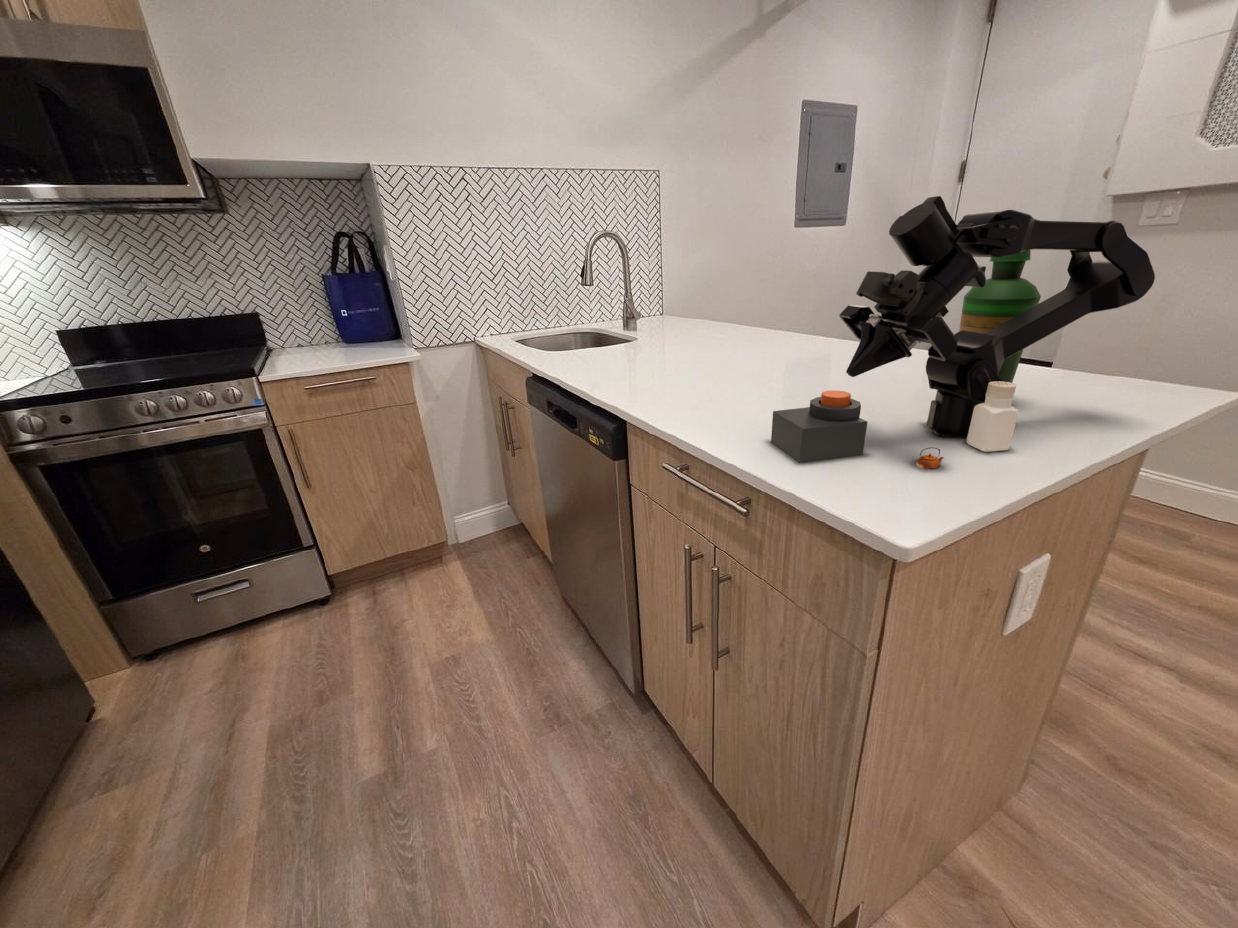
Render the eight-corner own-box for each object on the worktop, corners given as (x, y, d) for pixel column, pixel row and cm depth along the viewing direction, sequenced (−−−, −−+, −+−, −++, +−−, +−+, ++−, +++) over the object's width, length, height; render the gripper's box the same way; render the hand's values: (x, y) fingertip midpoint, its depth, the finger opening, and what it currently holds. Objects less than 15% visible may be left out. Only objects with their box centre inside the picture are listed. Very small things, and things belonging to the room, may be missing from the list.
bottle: (932, 395, 99) (963, 239, 88) (992, 394, 97) (1031, 236, 86) (958, 411, 89) (996, 238, 78) (1025, 410, 88) (1073, 234, 77)
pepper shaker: (1010, 451, 72) (1028, 386, 68) (983, 453, 72) (999, 388, 68) (989, 441, 76) (1004, 379, 72) (963, 443, 75) (978, 381, 72)
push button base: (833, 434, 82) (838, 392, 79) (868, 454, 73) (875, 408, 71) (770, 442, 80) (773, 399, 77) (799, 463, 72) (803, 416, 69)
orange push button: (839, 400, 77) (840, 389, 76) (855, 407, 73) (856, 395, 72) (815, 403, 76) (816, 391, 75) (830, 410, 72) (831, 398, 72)
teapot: (918, 460, 71) (921, 442, 70) (942, 464, 69) (946, 446, 68) (913, 467, 69) (916, 449, 68) (938, 472, 67) (942, 453, 66)
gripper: (859, 249, 76) (784, 329, 78) (957, 246, 59) (858, 349, 61) (897, 300, 80) (825, 374, 83) (999, 312, 63) (904, 405, 66)
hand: (849, 374), depth 73 cm, fingers closed
